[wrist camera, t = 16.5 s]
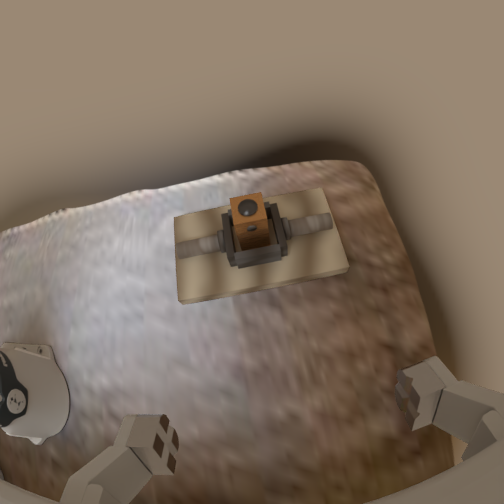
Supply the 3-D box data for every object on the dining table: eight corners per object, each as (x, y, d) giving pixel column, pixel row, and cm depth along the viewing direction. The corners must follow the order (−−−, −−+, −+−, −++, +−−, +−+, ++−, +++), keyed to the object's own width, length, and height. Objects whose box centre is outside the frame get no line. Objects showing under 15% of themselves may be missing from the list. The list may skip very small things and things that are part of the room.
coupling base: (182, 304, 42) (170, 293, 38) (177, 223, 49) (167, 206, 44) (346, 272, 42) (353, 257, 37) (320, 195, 48) (323, 175, 44)
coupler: (243, 255, 43) (233, 224, 35) (239, 230, 44) (229, 196, 37) (271, 249, 42) (267, 218, 35) (265, 225, 44) (260, 190, 37)
